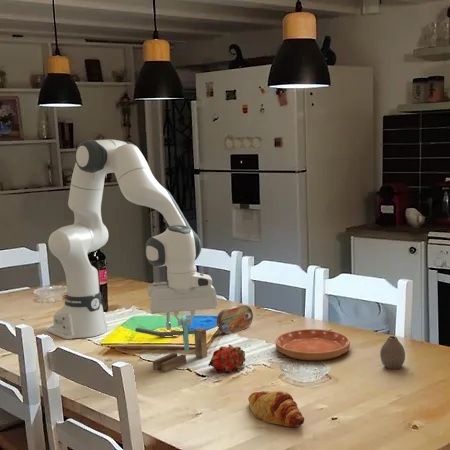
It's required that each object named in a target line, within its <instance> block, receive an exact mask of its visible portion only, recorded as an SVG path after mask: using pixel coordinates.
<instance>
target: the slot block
mask: <svg viewBox="0 0 450 450" xmlns="http://www.w3.org/2000/svg"><path fill="white" fill-rule="evenodd" d="M186 364H187V355H186V354H180V355H178V353H176V352H172V353H169V354H166V355H165V356H161V357H160V358H157V359H155V360H152V369H153V371H158V372H161V373H168V372H171V371H174V370H175V369H178V368H180V367H182V366H184V365H186Z"/></svg>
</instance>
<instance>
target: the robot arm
mask: <svg viewBox="0 0 450 450" xmlns="http://www.w3.org/2000/svg"><path fill="white" fill-rule="evenodd" d="M74 154H75V155H74V157H75V164H74V167H73V170H72V176H71V181H70V188H69V194H68V201H67V205H68V208H69V209H70V210H71V211H72V212H73V214H74V215H73V216H74V223H72V224H69V225H65V226H61V227H60V228H58V229H56V230H55V231H53V232H51V234H50V235H49V238H48V241H47V242H48V243H47V244H48V249H49V251H50V253H51V254H52V255H53V257H56V259H58V260H59V262H60V263H61V266H62V268H63V271H64V275H65V281H66V282H65V283H66V293H67V294H65V295H62V297H63V298H62V299H63V300H64V305H63V306H62V307H61V308H60V309H58V310H57V311H56V312H55V313H54V315H53V323H52V325H50V326H49V327H47V329H46V332H48V333H50V334H53V335H55V336H58V337H60V338H61V339H65V340H71V339H81V338H91V337H96V336H99V335H102V334H104V333H106V332H107V331H108V329H107V327H108V323H107V322H106V319H105V313H104V308H103V304H102V293H101V291H100V284H99V283H100V282H99V271H98V269H97V268H96V267H95V266H93V265H92V264H91V262H90V260H89V256H88V255H89V253H91V252H92V253H93V252H95V251H98V250H99V249H101V248H102V247H104V246H105V245H106V244H107V242H108V240H109V230H108V228H107V226H106V225H105V224H104V222H103V218H102V210H101V209H102V201H103V194H104V187H105V186H104V185H105V178H106V175H107V174H110V173H111V174H112V173H114V175H115V178H116V181H117V184H118V186H119V190H120V192H121V193H122V195H123V197H124V198H125V199H126V200H127V201H129V202H130V203H132V204H135V205H139V206H143V207H147V208H151V209H153V210H155V211H158V213H160V214H161V215H162V216H163V218H164V219H165V221H166V222H167V223H166V224H167V225H168V227H167V228H166V229H165V231H163V232H162V233H160V234H158V235H154V236H152V237H149V238H148V240H147V241H146V242H145V246H144V255H145V258H146V260H147V261H148V263H149V264H150V265H151V266H153V267H157V268H158V267H160V268H162V267H166V268H167V269H166V273H167V275H166V276H167V280H165V281H164V280H163V281H153V282H152V283H150V284H149V285H148V287H147V293H148V296H149V297H150V302H149V307H150V308H149V310H150V312H151V313H152V314H163V313H165V314H166V312H170V313H173V315H174V317H175V319H176V320H177V325H178V327H179V326H180V327H181V326H182V325H183V319H182V318H180V316H179V312H186V311H187V312H188V311H189V317H186V319H187V323H188V326H192V324H193V322H192V320H193V318H194V316H195V314H196V313H195V312H196V311H201V310H204V311H205V310H214V309H216V308H218V298H217V297H218V296H217V292H216V289H215V287H214V286H213V278H212V277H211V275H209V274H205V273H202V272H201V273H200V272H198V270H197V265H196V260H197V259H198V258H199V255H200V254H201V251H202V241H201V239H200V237H199V235H198V234H197V233H196V232H195V231H194V230H193V228H192V227H191V226H190V224H189V222H188V221H187V218H186V217H185V216H184V214H183V212H182V210H181V209H180V207H179V204H178V203H177V202H176V200H175V199H174V197H173V195H172V194H171V192H170V191H169V190H168V189H167V188H166V187H164V186H163V185H161V184H160V183H159V181H158V180H157V179H156V177H155V176H154V174H153V173H152V170H151V168H150V166H149V164H148V161H147V160H146V158H145V156H144V155H143V153H142V151H141V150H140V148H139V147H138V146H137V145H135V144H134V143H132V142H130V141H127V140H117V139H110V138H109V139H107V138H106V139H95V140H93V139H89V140H84V141H82V142H80V143H79V144H78V145H77V148H76V150H75V153H74Z"/></svg>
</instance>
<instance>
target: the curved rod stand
mask: <svg viewBox="0 0 450 450" xmlns="http://www.w3.org/2000/svg"><path fill="white" fill-rule="evenodd" d="M135 332H136V333H140V334H145V335H150V336H155V337H159V336H160V337H159V338H162V337H161V336H173V335H179V336H183V335H184V330H183V331H171V332H160V331H157V330H152V329H150V330H149V329H146V328H141V327H136V328H135ZM188 335H194V348H195V349H194V350H195V358H197V359H204V358H207V357H208V345H207V343H208V342H207V329H206V328H203V327H199V328H195V329H188Z"/></svg>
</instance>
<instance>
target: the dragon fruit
mask: <svg viewBox="0 0 450 450" xmlns="http://www.w3.org/2000/svg"><path fill="white" fill-rule="evenodd" d="M245 356H246V353H245V350H243V349H241V346H233V345H232V344H228V347H227V346H219V348H218V349H217V350H214V351H213V354H212V357H211V359H210V361H209V363H208V367H212V368H213V369H212V371H213V372H214V373H218V374H219V373H221V372H229V373H233V372H235V371H236V370H237V369H241V368H242V367H245V366H246V363H244V362H246V358H245Z"/></svg>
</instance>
